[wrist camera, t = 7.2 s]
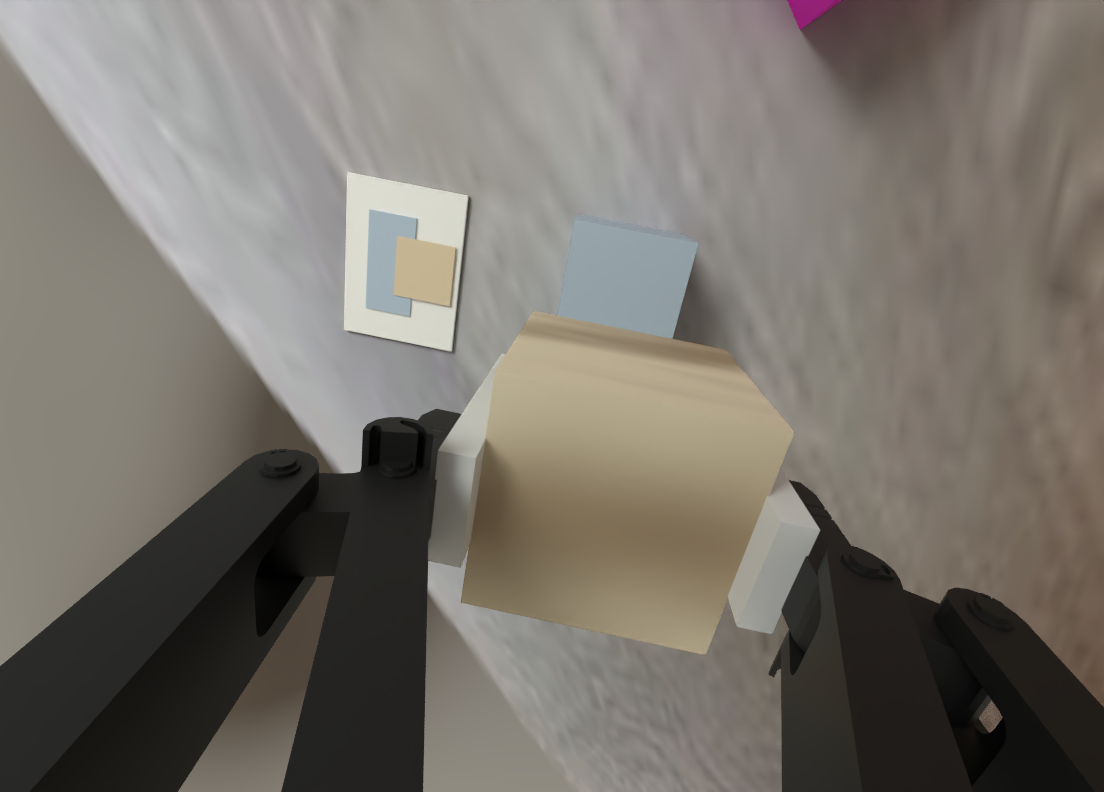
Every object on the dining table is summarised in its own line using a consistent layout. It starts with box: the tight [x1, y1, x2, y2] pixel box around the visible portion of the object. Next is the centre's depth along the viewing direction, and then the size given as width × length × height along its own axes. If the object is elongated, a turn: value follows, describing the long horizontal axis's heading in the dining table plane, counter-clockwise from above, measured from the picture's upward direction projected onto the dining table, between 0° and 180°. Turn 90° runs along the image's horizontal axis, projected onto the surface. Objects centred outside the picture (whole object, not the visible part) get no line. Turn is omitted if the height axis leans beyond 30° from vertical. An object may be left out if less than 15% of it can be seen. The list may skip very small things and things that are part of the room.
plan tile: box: [344, 172, 469, 351], centre depth 26 cm, size 8×6×1 cm
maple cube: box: [461, 311, 794, 655], centre depth 14 cm, size 6×6×6 cm
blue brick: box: [557, 215, 699, 339], centre depth 24 cm, size 10×5×5 cm, turn 170°
